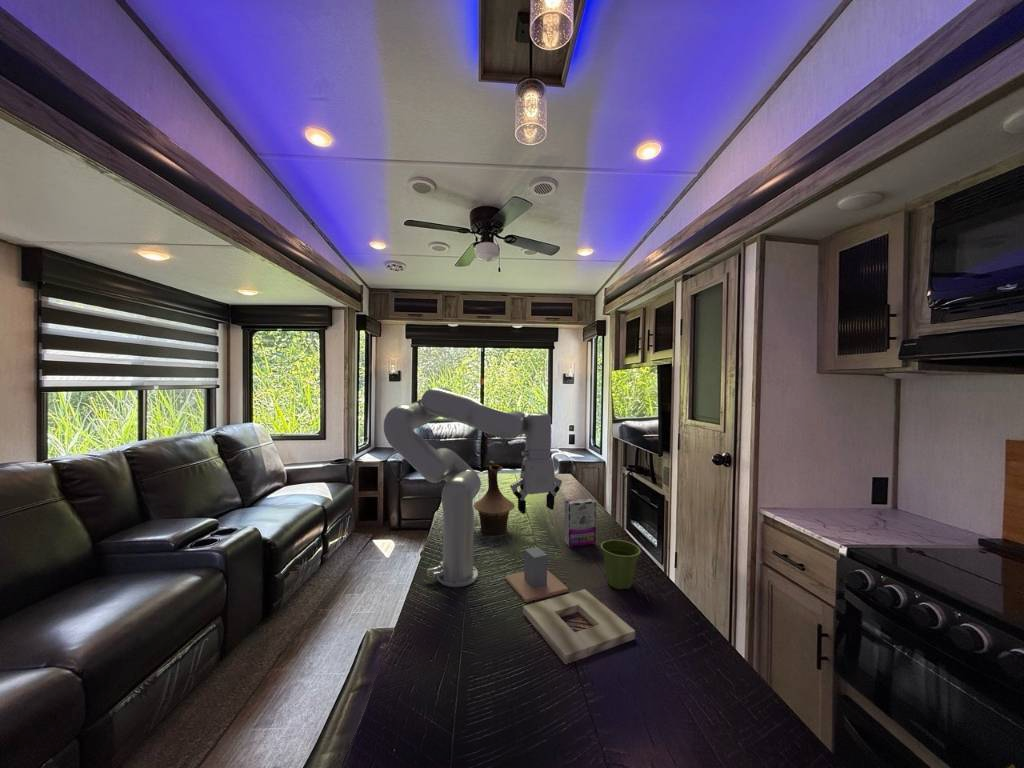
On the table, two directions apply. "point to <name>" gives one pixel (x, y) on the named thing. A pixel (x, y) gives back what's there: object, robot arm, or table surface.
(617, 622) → the holder
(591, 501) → the candy bar box
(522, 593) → the tile
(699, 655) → the table surface
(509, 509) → the brown vase
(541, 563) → the block
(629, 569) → the plant pot
